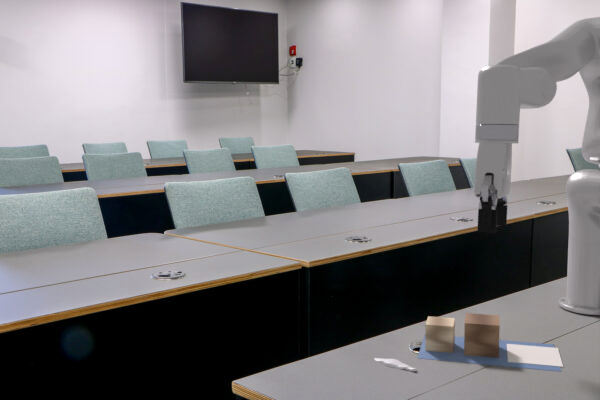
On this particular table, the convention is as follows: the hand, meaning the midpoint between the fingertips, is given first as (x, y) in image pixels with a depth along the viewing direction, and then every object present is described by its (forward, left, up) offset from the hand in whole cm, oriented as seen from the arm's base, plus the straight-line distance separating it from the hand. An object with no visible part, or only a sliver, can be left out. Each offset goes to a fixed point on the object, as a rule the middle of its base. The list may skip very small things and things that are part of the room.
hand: (492, 228), depth 115 cm
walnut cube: (+3, +1, -22) cm, 23 cm away
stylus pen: (+21, -8, -24) cm, 33 cm away
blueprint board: (+3, +1, -23) cm, 24 cm away
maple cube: (+8, -5, -22) cm, 24 cm away
